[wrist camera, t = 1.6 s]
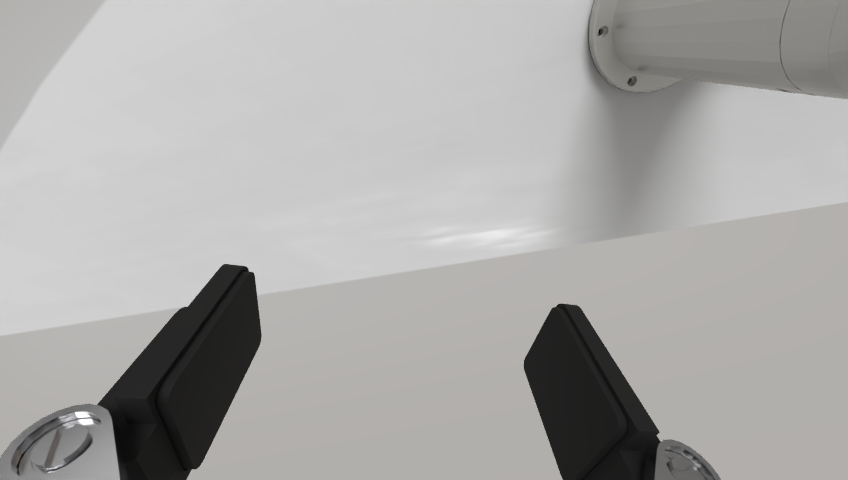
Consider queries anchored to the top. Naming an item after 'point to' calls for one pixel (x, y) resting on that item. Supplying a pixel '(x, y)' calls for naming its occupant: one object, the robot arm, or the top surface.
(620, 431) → the robot arm
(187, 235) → the top surface
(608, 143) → the top surface
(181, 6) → the top surface
